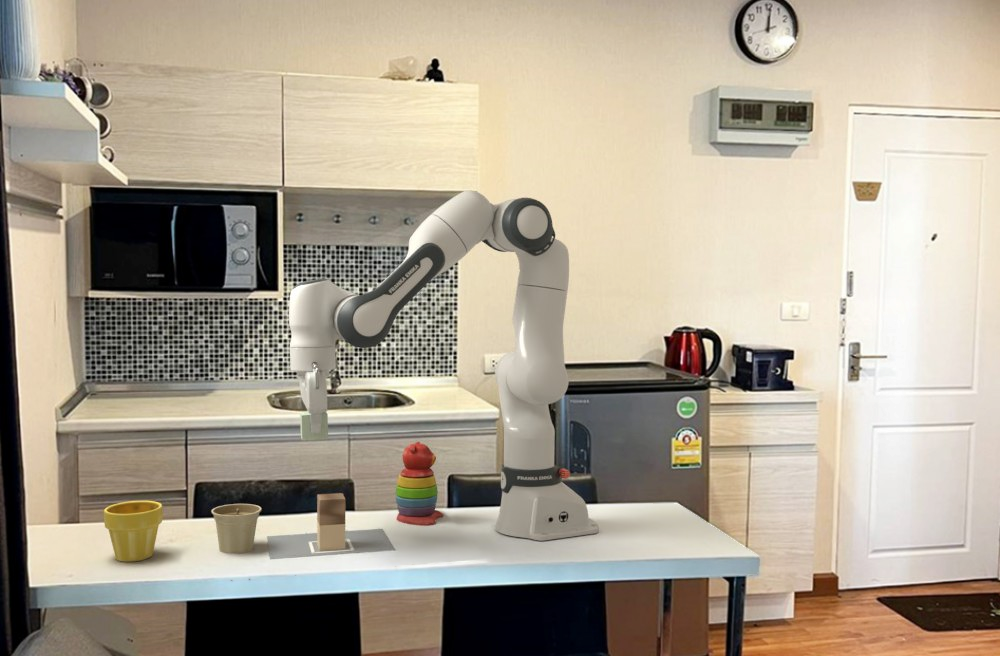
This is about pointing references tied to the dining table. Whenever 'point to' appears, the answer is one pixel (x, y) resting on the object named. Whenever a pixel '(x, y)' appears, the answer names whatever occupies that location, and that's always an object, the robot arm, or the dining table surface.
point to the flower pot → (236, 527)
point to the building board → (304, 551)
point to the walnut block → (331, 509)
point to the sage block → (306, 427)
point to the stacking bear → (417, 487)
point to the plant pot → (133, 528)
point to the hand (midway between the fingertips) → (314, 429)
